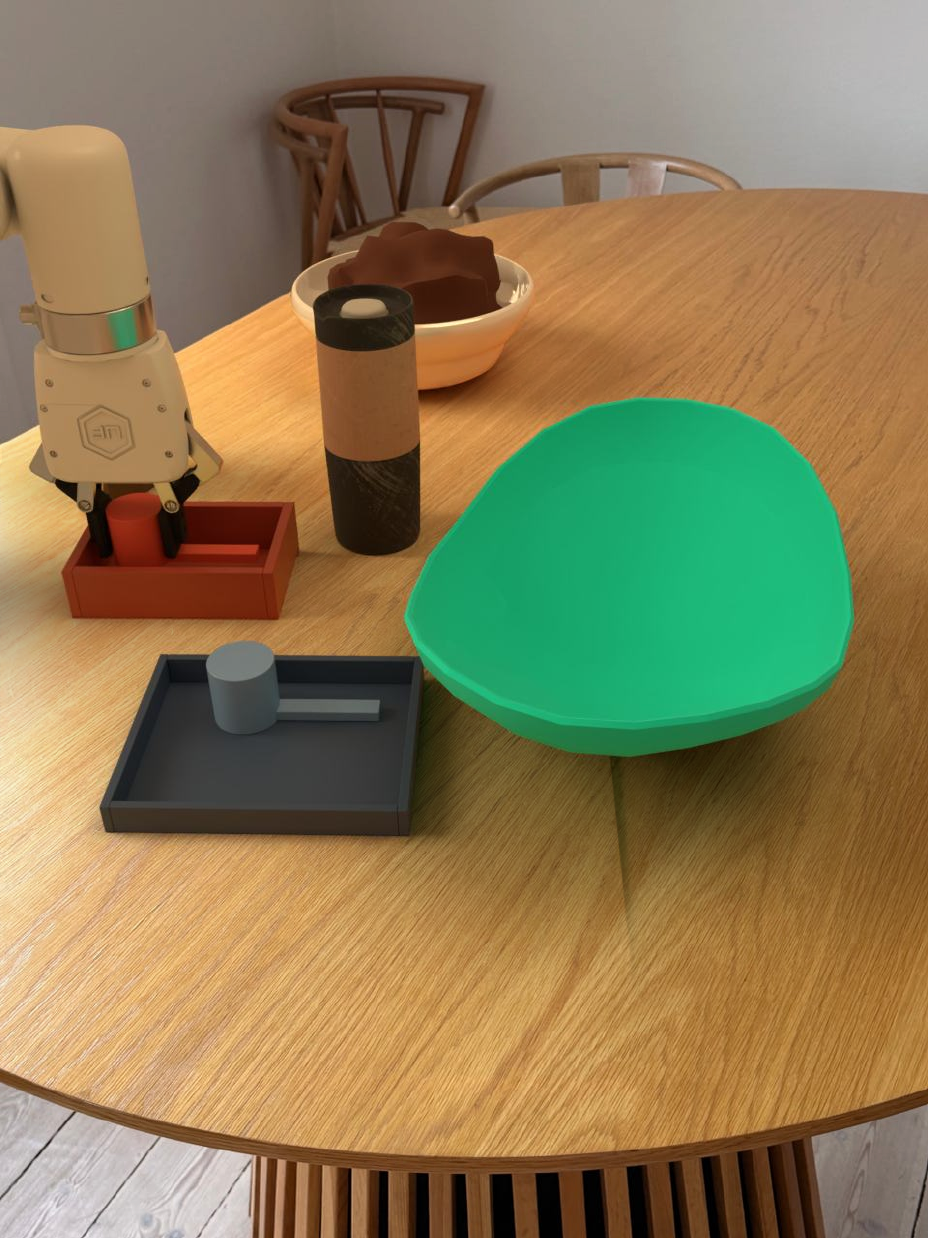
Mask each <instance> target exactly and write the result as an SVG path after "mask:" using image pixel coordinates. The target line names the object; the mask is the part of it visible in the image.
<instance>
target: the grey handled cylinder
mask: <svg viewBox="0 0 928 1238" xmlns="http://www.w3.org/2000/svg"><path fill="white" fill-rule="evenodd" d="M209 654H210V655H209V657H208V659H207V662H206V668H207V674H208V680H209V686H210V692H211V698H212V704H213V710H214V716H215V721H216V723H217V725H218V726H219V727H220V728H221V729H223V730H224V731H226V732H229V733H232V734H238V735H247V734H254V733H258V732H261V731H263V730H266V729H267V728H269V727H271V726H272V725H273V724H274V723H275V722H276V721H277V720H295V721H379V720H380V714H381V701H380V700H346V699H280V697H279V689H278V681H277V673H276V666H275V658H274V655H275V653H274V652H273V650H272V649H271V647H269V646H268V645H266V644H264V643H262V642H259V641H256V640H255V641H254V640H237V641H232V642H228V643H225V644H223V645H221V646H219V647H217V648H216V649H214V650H213V651H212V652H211V653H209Z"/></svg>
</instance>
